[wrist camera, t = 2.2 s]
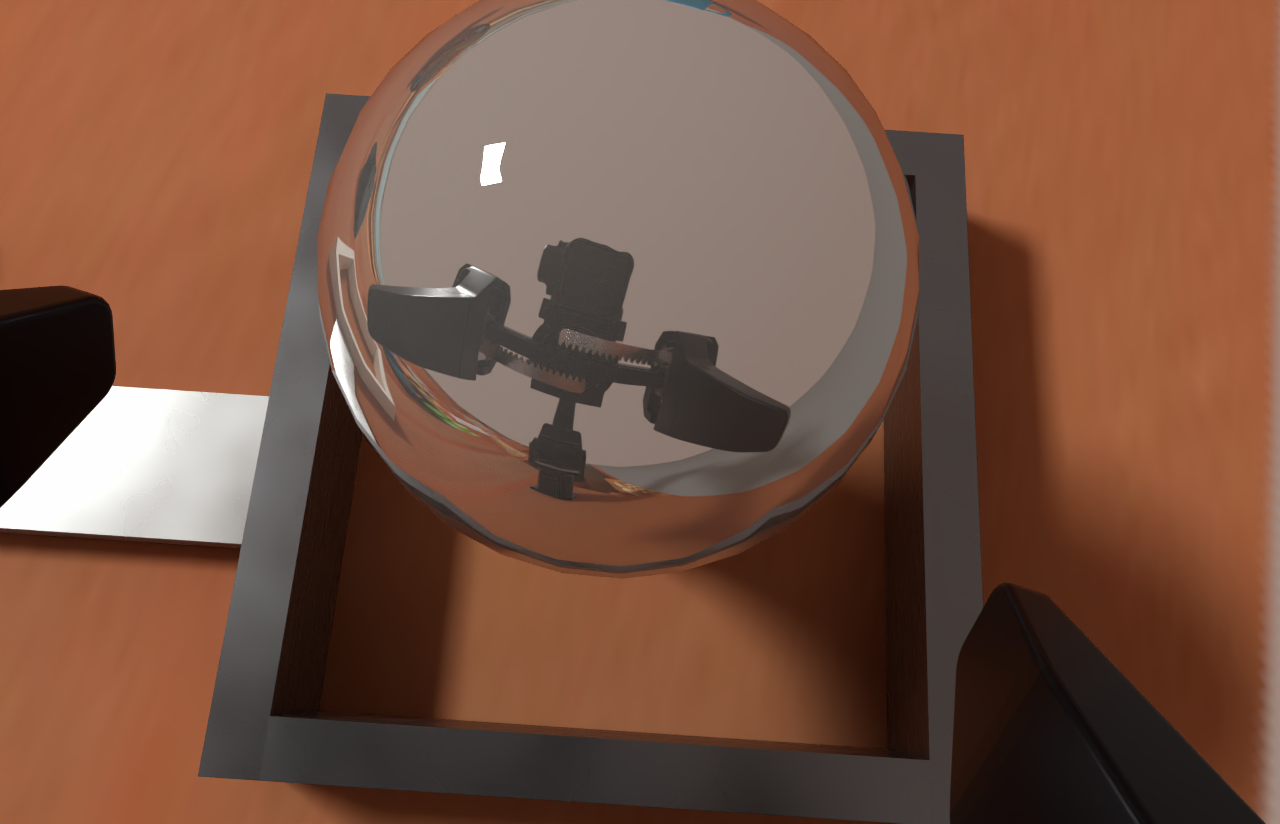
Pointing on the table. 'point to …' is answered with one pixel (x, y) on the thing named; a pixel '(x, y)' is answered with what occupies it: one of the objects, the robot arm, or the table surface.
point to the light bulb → (618, 278)
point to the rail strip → (148, 471)
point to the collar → (586, 758)
